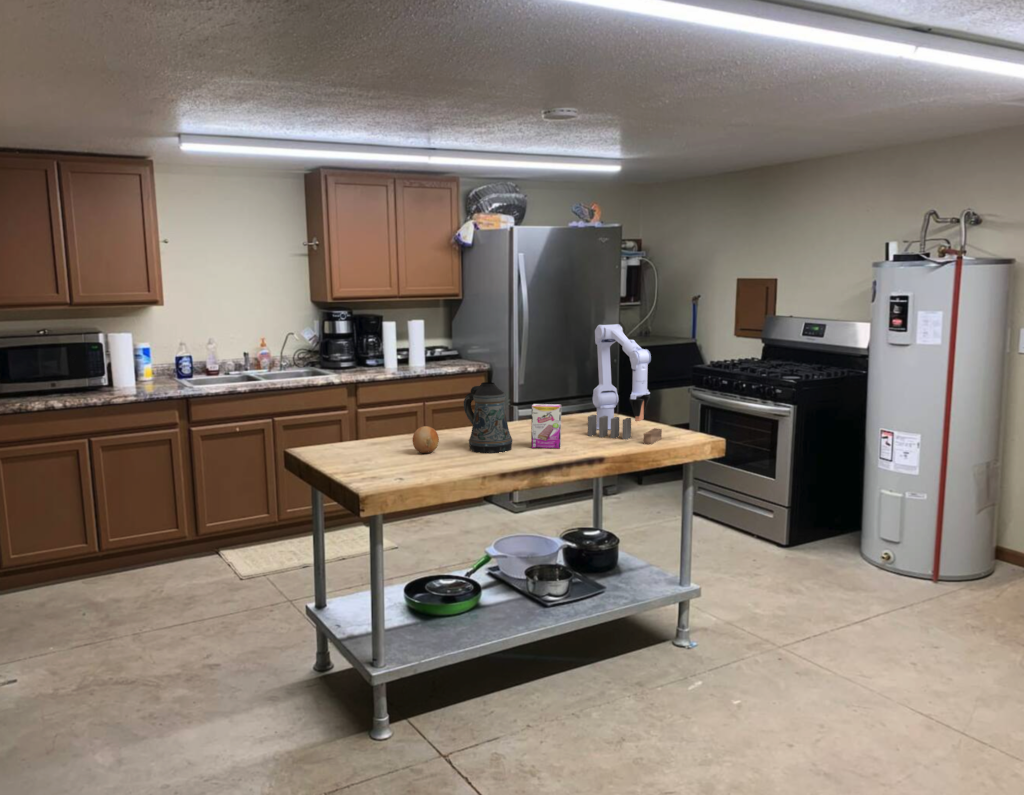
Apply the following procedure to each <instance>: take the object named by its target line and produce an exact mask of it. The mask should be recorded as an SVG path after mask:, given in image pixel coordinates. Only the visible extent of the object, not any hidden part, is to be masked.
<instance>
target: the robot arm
mask: <svg viewBox="0 0 1024 795" xmlns="http://www.w3.org/2000/svg"><path fill="white" fill-rule="evenodd" d="M623 330H624V329H623V327H622V326H621V324H619V323H615V324H598V325H597V326H596V328H595V329H594V340H595V341H594V343H595V345H597V346H596V348H597V349H596V350H597V368H598V385H597V386H596V387H595V388H594V389H593V394H592V403H593V405H594V408H596V415H597V423H596V430H599V418H600V417H602V416H608V431H611V418H614V417H615V408H616V406H617V405H618V403H619V401H620V400H619V395H618V389H617V387H615V386H614V385H613V383H612V368H611V364H612V363H611V346H612V345H613V344H615V343H616V342H617V343H618V344H620V345H621V346H622V347H621V348H622V351H623V352H624V353H625V354H626V355H627V356H628V357H629V361H630V365H631V370H632V390H631V394H630V397H629V398H628V402H629V403H630V405H631V408H632V413H633V416H634V417H635V416H640V412H641V406H642V403H643V401H644V415H645V413H646V410H647V406H648V402H649V401H650V399H651V395H650V394H651V392H650V391H649V389H648V375H649V374H648V373H649V372H648V369H649V368H648V367H649V366H648V365H649V364H650V363H651V361H652V356H651V355H652V354H651V351H649V349H647V348H645V349H644V348H642V347H641V346H640V345H639V344H638V343H637V342H636V341H635V340H634V339H629V338H628V337H627V336H626V335H625V333H624V331H623Z"/></svg>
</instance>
